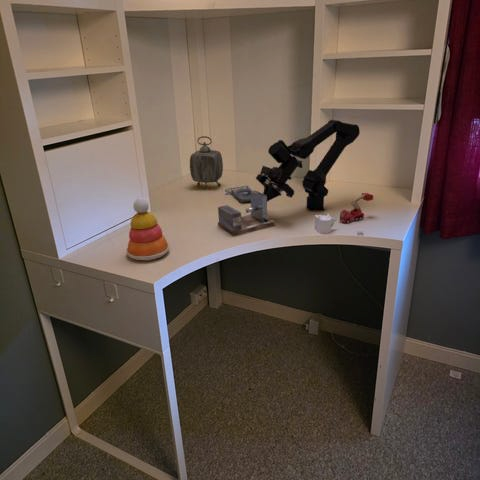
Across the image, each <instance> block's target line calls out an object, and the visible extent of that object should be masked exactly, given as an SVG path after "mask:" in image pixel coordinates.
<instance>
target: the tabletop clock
mask: <svg viewBox="0 0 480 480" xmlns="http://www.w3.org/2000/svg"><path fill="white" fill-rule="evenodd" d="M200 139H208V140H209V141H210V142H209V143H207V142H206V141H205V142H203V143H201V142H199V140H200ZM197 143H198V144H199V145H201V147H200V148H199V149H198V150H196V151H195V152H193V153H192V154H191V155H190V158H189V172H190V176H191V179H192V181H194V182H196V185H197V186H198V187H199V186H200V185H201V183H203V184H205V185H204V187H203V189H205V190H208V189H209V187H208V186H207V185H208V183H216V185H217V187H218V188H219V187H221V186H222V184H221V183H219V182H218V181H219V180H220V179H221V178H222V176H223V171H224V163H223V155H222V154H221V152H220V151H219V150H214V149H211V147H210V145H211V144H212V143H213V141H212V138H211V137H209V136H207V135H206V136H205V135H204V136H203V135H202V136H200V137H198V138H197Z"/></svg>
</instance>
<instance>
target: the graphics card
mask: <svg viewBox="0 0 480 480" xmlns="http://www.w3.org/2000/svg"><path fill="white" fill-rule="evenodd" d="M251 191H253V190H252V189H251V188H250V187H249V185H241V186H236V187H229V188H226V189H224V192H225V193H224V194H225V195H224V196H228V195H230V196H232V197H233V198H236V199H237V200H238V201H239V202H241V203H246V202H247V203H248V202H251Z"/></svg>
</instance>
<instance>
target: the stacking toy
mask: <svg viewBox="0 0 480 480" xmlns="http://www.w3.org/2000/svg"><path fill="white" fill-rule="evenodd" d="M132 205H133V210H134V211H135V212H136V213H135V214H134V215H133V216H132V217H131V219H130V229H129V233H128V238H129V240H128V244H127V248H126V250H125V253H126V254H127V257H129V258H131V259H133V260H138V261H151V260H155V259H158V258H161V257H163V256H164V255H166V254H167V253H168V252H169V250H170V248H171V245H170V244H169V243H168V241H167V239H166V236H164V235H163V230H162V227H161V226H160V225H159V224H158V220H157V218H156V216H155V215H154V214H153V213H152V212H150V211H148V210H149V203H148V201H147V200H146V198H144V197H137V198H136V199H135V200H134V202H133V204H132Z"/></svg>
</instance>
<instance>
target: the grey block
mask: <svg viewBox="0 0 480 480" xmlns="http://www.w3.org/2000/svg"><path fill="white" fill-rule="evenodd" d="M245 213H247V214H248V213H251V214H250V215H251V216H253V217H254V218H256V219H258V220H260V221H262V222H264V221H266V222H268V220H267V218H268V202H267V195H264V194H263V192H260V191H259V190H258V191H257V190H252V191H251V201H250V207H247V208H245Z"/></svg>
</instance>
